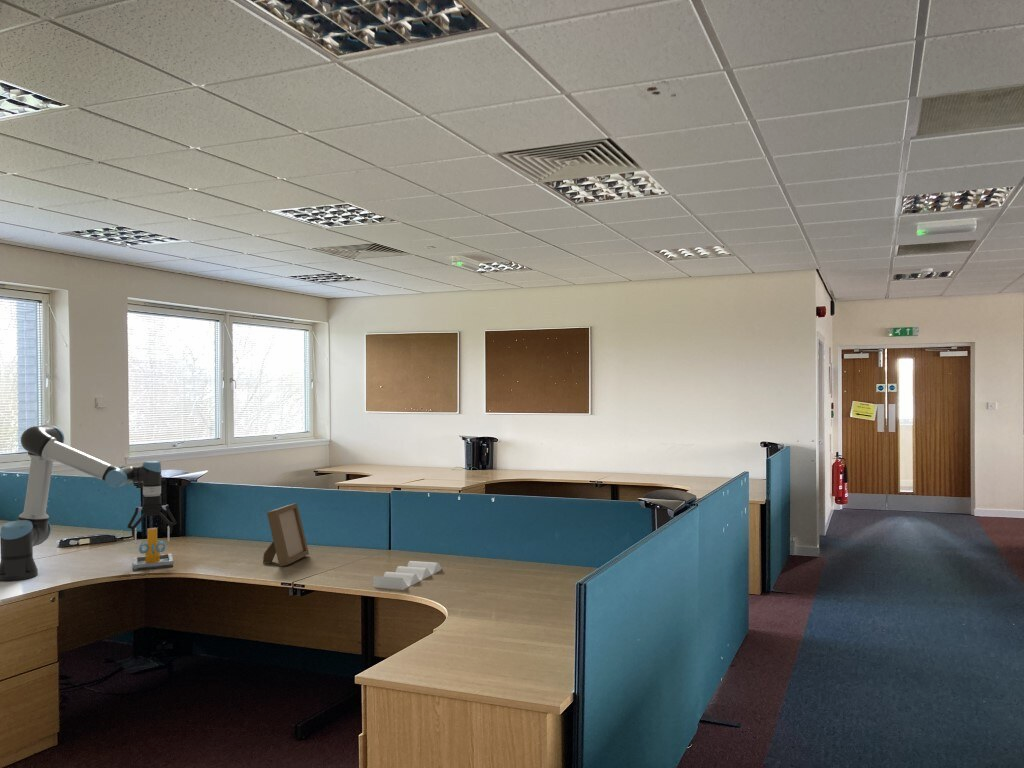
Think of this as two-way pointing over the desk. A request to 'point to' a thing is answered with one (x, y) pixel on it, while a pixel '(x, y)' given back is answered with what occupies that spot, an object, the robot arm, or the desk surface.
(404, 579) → the white zigzag rack
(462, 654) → the desk surface
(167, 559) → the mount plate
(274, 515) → the photo frame
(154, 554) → the orange block with rings
